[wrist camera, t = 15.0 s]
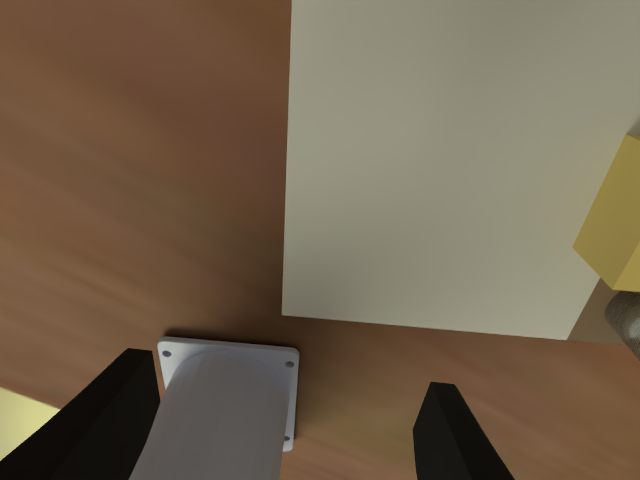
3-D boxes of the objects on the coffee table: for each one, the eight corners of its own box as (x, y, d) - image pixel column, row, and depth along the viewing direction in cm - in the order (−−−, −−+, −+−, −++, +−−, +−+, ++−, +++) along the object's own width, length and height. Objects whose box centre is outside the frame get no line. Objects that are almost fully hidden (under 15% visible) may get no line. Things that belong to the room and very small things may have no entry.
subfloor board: (736, 342, 21) (752, 356, 20) (284, 302, 21) (281, 315, 20) (1039, -18, 13) (1090, -20, 12) (297, -83, 13) (294, -89, 12)
